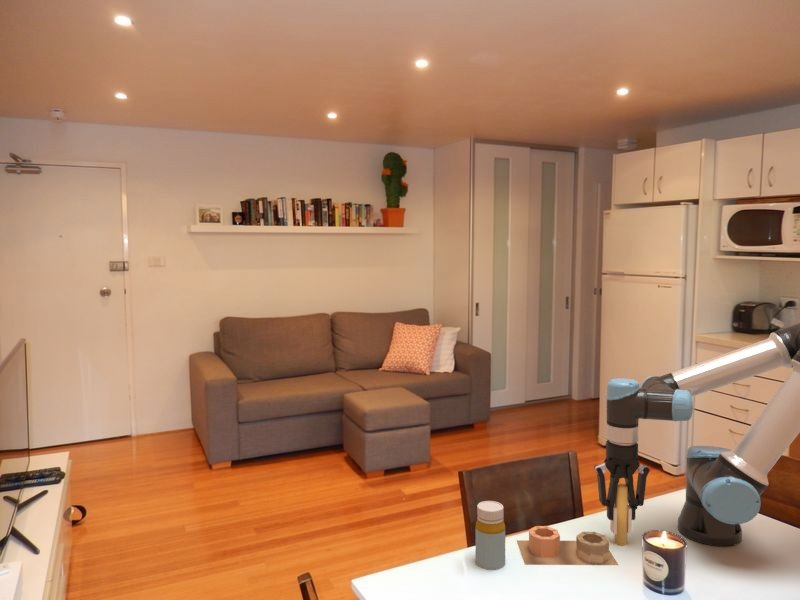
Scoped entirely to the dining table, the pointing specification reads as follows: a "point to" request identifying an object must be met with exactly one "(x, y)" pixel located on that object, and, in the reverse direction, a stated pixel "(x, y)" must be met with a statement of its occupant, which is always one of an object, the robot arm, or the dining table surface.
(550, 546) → the bead rust
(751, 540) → the dining table surface
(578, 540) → the bead beech
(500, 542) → the bottle
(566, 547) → the lacing board
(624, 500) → the dowel
